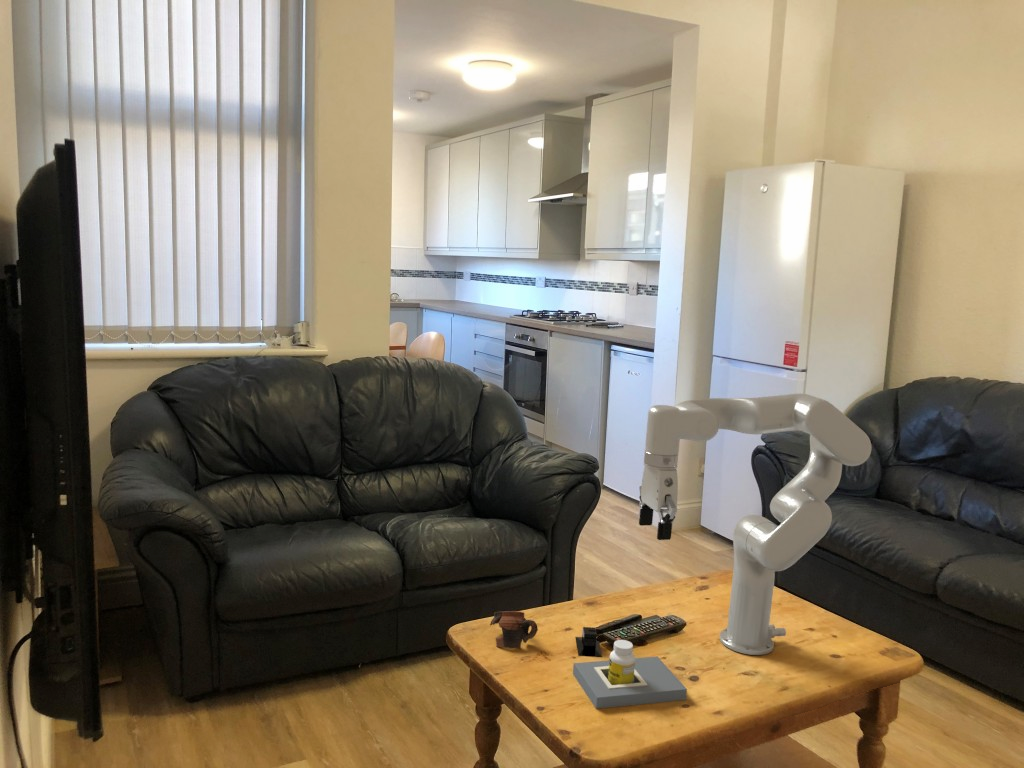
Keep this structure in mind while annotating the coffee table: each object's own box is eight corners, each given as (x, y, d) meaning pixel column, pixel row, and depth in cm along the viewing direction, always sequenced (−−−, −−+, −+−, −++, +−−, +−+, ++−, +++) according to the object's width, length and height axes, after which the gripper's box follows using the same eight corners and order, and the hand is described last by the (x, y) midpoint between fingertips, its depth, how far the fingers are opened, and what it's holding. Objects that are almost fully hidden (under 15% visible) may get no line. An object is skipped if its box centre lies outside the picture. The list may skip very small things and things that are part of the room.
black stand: (606, 663, 181) (607, 644, 180) (574, 661, 181) (575, 642, 180) (600, 637, 193) (602, 619, 193) (570, 635, 193) (571, 618, 193)
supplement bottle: (602, 682, 171) (606, 639, 170) (624, 678, 173) (628, 636, 172) (615, 695, 166) (619, 651, 165) (637, 691, 168) (641, 648, 167)
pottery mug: (483, 648, 184) (483, 611, 187) (500, 650, 192) (500, 615, 196) (531, 646, 180) (531, 609, 183) (546, 649, 188) (546, 613, 191)
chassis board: (656, 666, 180) (657, 655, 179) (685, 699, 166) (687, 688, 166) (572, 673, 174) (573, 662, 174) (596, 708, 161) (597, 696, 161)
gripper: (694, 469, 174) (686, 544, 177) (659, 450, 191) (653, 519, 193) (662, 470, 172) (655, 546, 175) (630, 450, 189) (624, 520, 191)
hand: (654, 532), depth 184 cm, fingers open, 9 cm apart
